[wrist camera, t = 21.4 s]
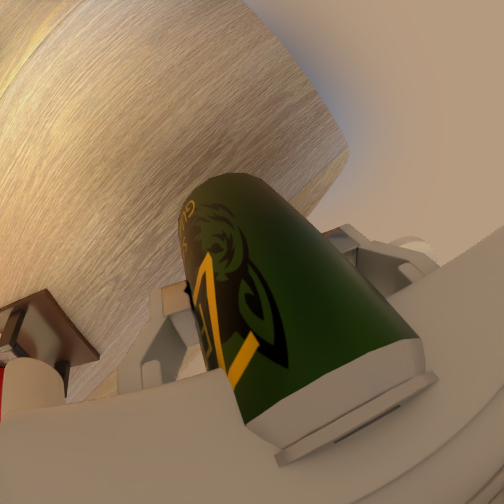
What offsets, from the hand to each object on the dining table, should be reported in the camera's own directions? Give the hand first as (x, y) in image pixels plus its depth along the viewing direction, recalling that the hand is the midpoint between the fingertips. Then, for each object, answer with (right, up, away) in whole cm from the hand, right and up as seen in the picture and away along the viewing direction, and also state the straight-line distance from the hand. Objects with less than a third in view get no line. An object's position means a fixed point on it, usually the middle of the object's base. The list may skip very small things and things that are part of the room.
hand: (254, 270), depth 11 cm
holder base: (-31, -12, +20) cm, 39 cm away
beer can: (-1, +3, +4) cm, 5 cm away
